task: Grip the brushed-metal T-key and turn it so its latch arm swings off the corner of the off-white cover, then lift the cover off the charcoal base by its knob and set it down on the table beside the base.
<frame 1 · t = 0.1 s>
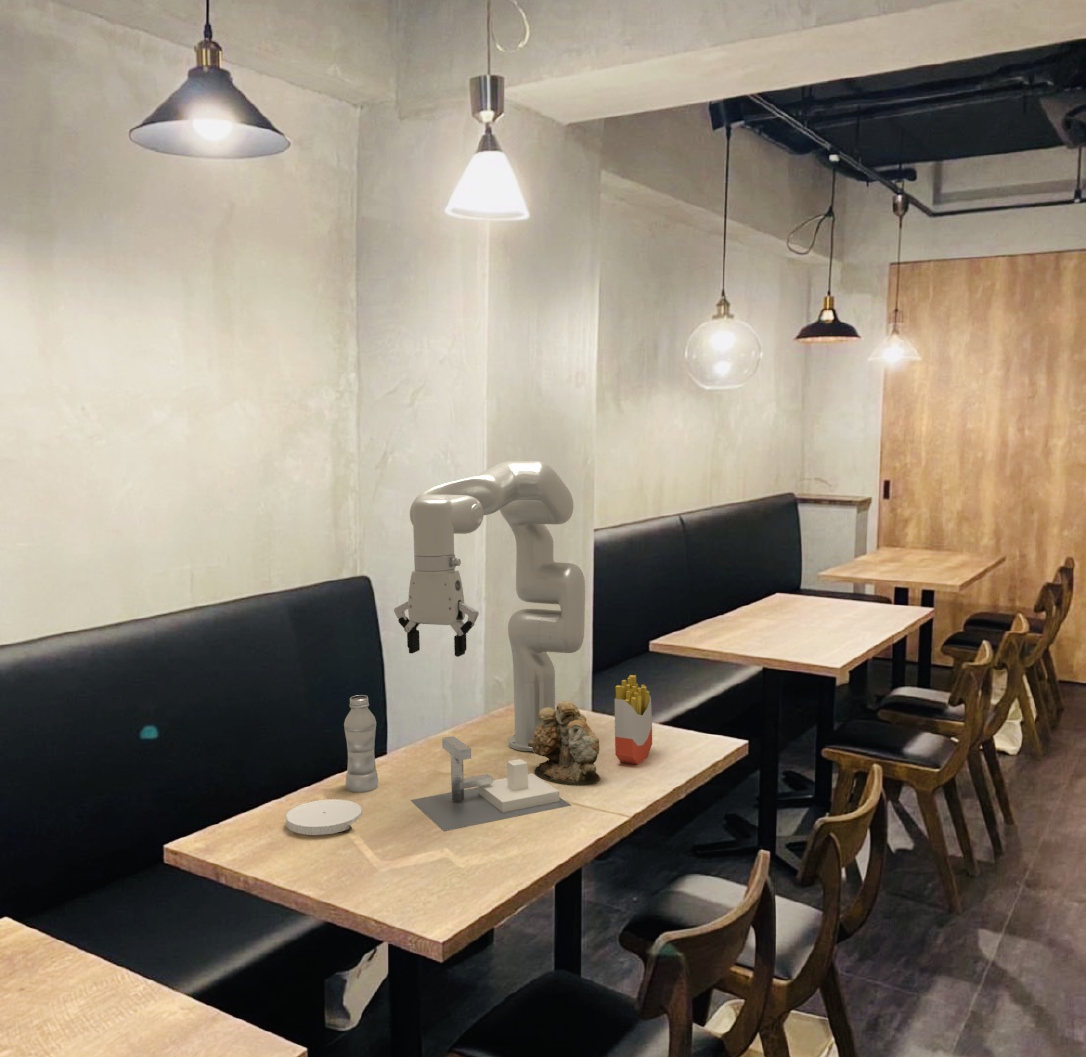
hand: (436, 653, 200), 31 cm above the table, tool pointing down, fingers open, 9 cm apart
plastic lid: (324, 826, 199), on the table
plastic bottle: (362, 794, 214), on the table
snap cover: (518, 797, 206), point 1 cm above the table, touching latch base
french fries container: (634, 760, 232), on the table
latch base: (490, 810, 204), on the table
t key: (471, 768, 206), point 7 cm above the table, hinge at 0.0°
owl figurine: (565, 783, 219), on the table
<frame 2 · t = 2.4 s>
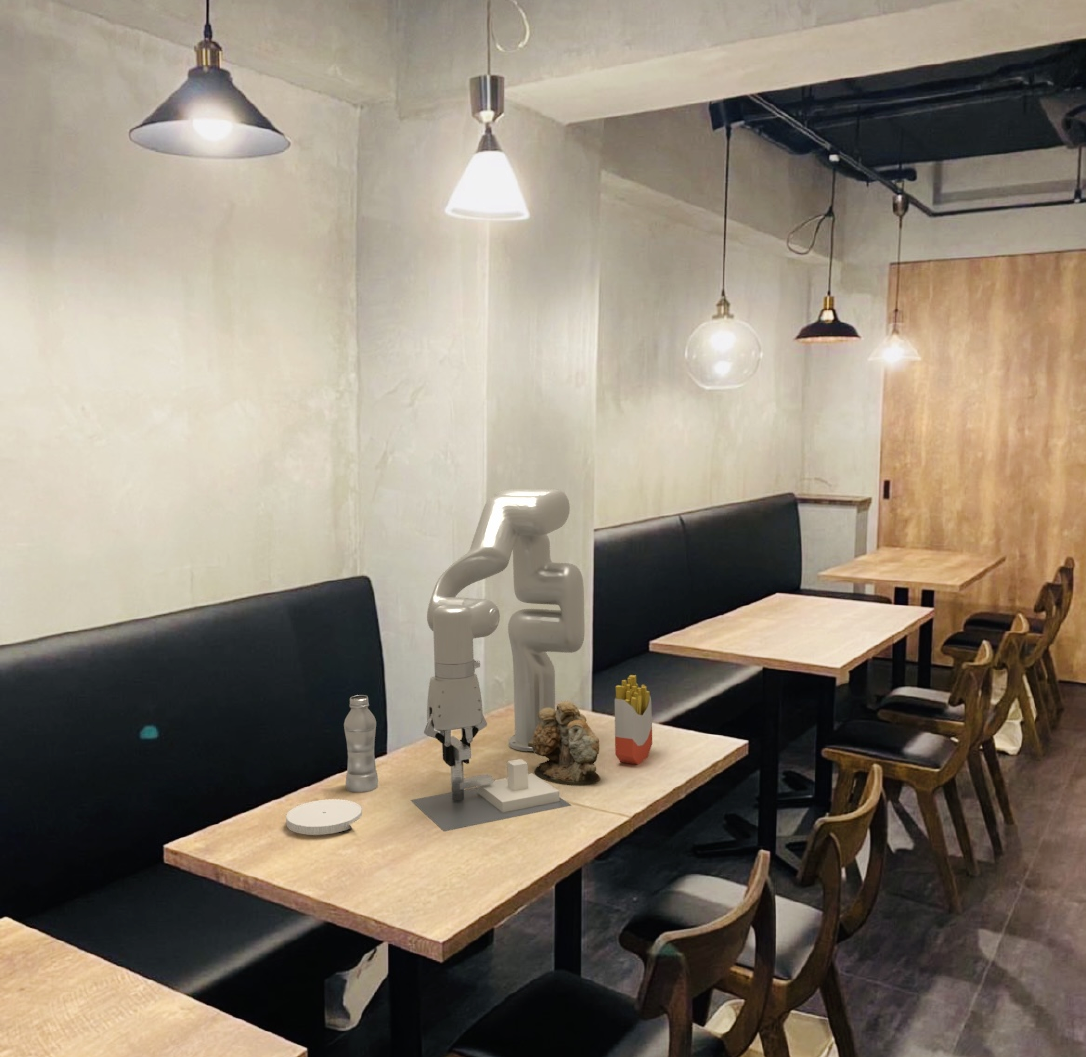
hand: (456, 762, 204), 9 cm above the table, tool pointing down, fingers closed on t key, 2 cm apart
t key: (471, 768, 206), point 7 cm above the table, hinge at 0.0°, touching gripper
everything else where it was.
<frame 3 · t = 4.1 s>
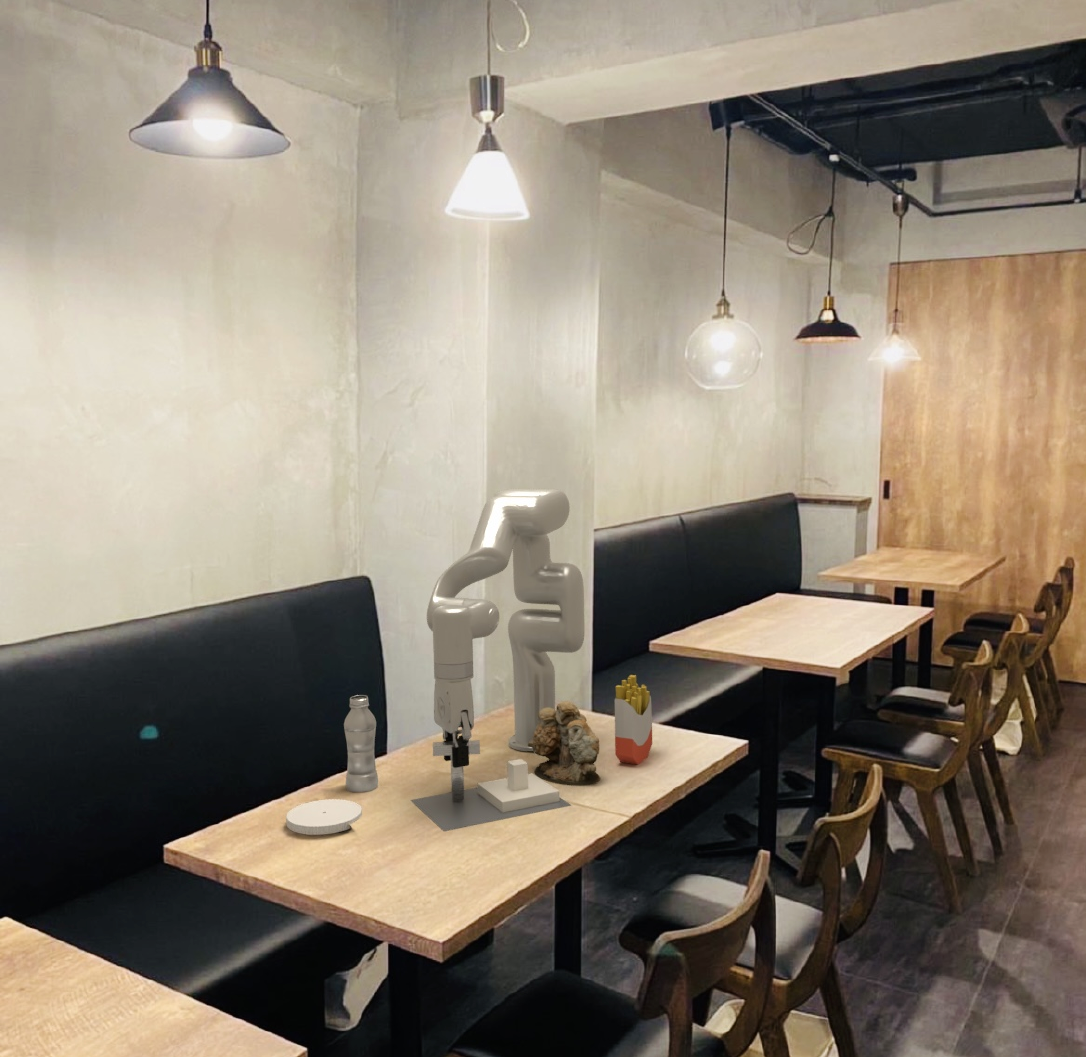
hand: (456, 762, 204), 9 cm above the table, tool pointing down, fingers closed on t key, 3 cm apart
t key: (457, 766, 207), point 7 cm above the table, hinge at 67.9°, touching gripper
everything else where it was.
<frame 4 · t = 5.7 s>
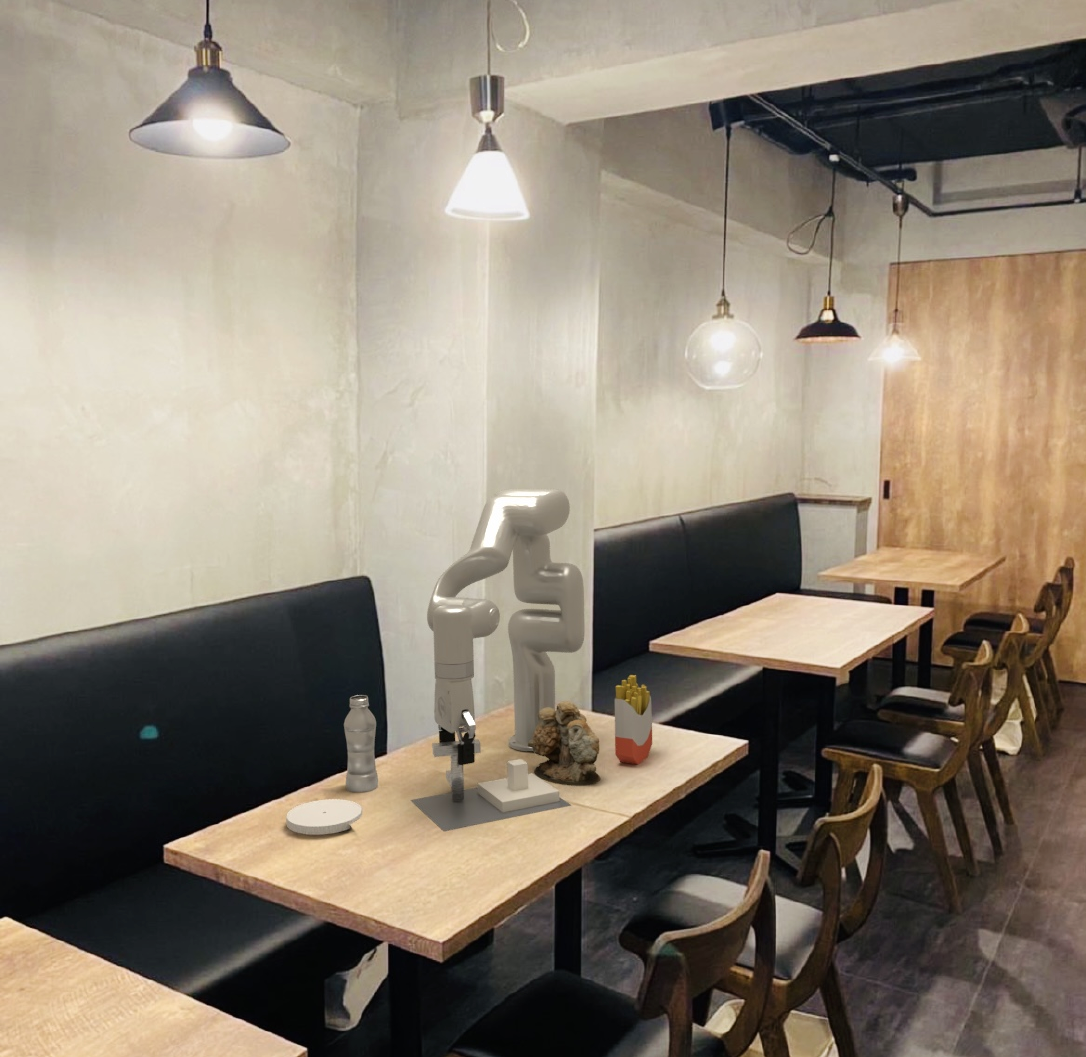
hand: (456, 756, 204), 10 cm above the table, tool pointing down, fingers open, 9 cm apart
t key: (454, 766, 207), point 7 cm above the table, hinge at 77.3°
everything else where it was.
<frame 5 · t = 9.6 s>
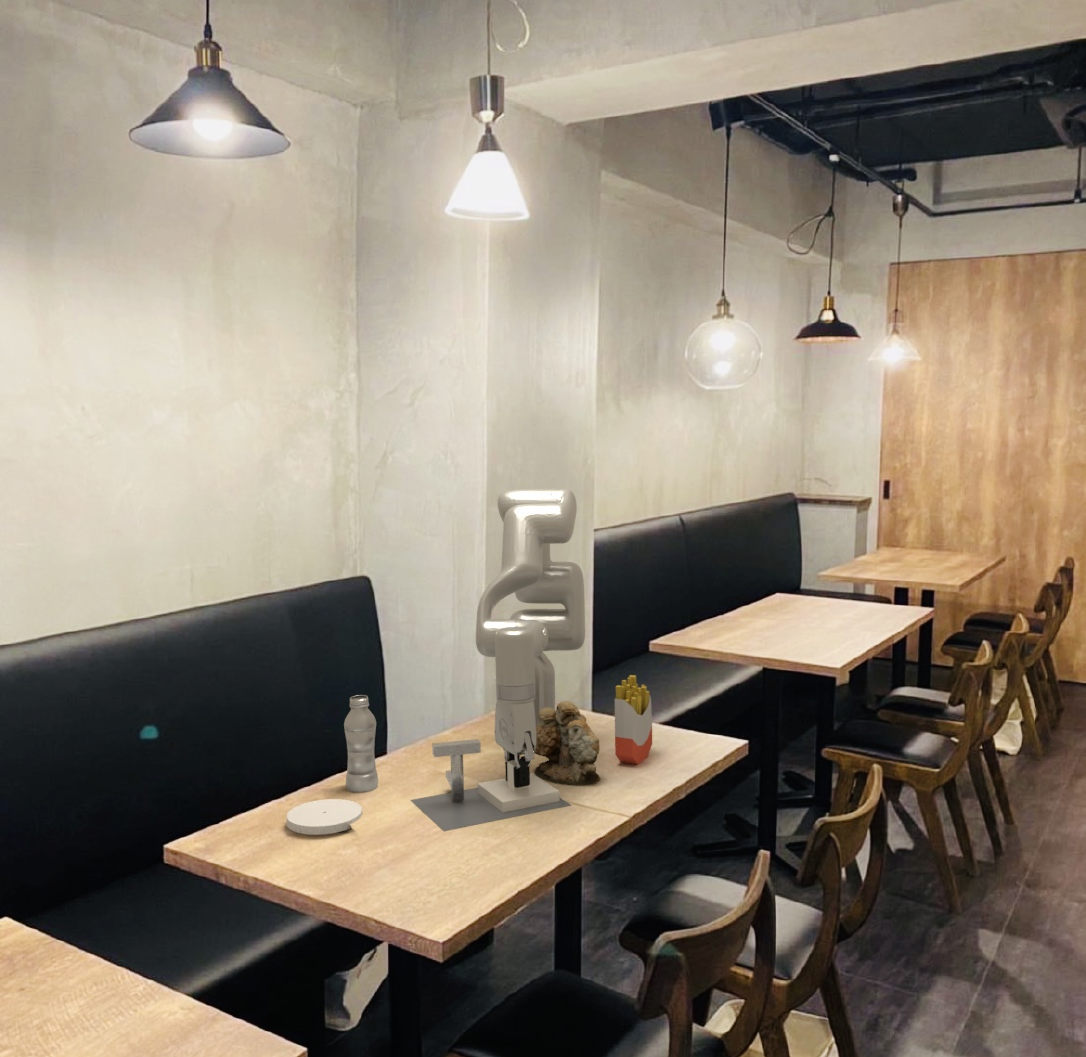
hand: (517, 782, 206), 4 cm above the table, tool pointing down, fingers closed on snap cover, 3 cm apart
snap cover: (518, 797, 206), point 2 cm above the table, touching gripper, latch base
t key: (454, 766, 207), point 7 cm above the table, hinge at 77.8°
everything else where it was.
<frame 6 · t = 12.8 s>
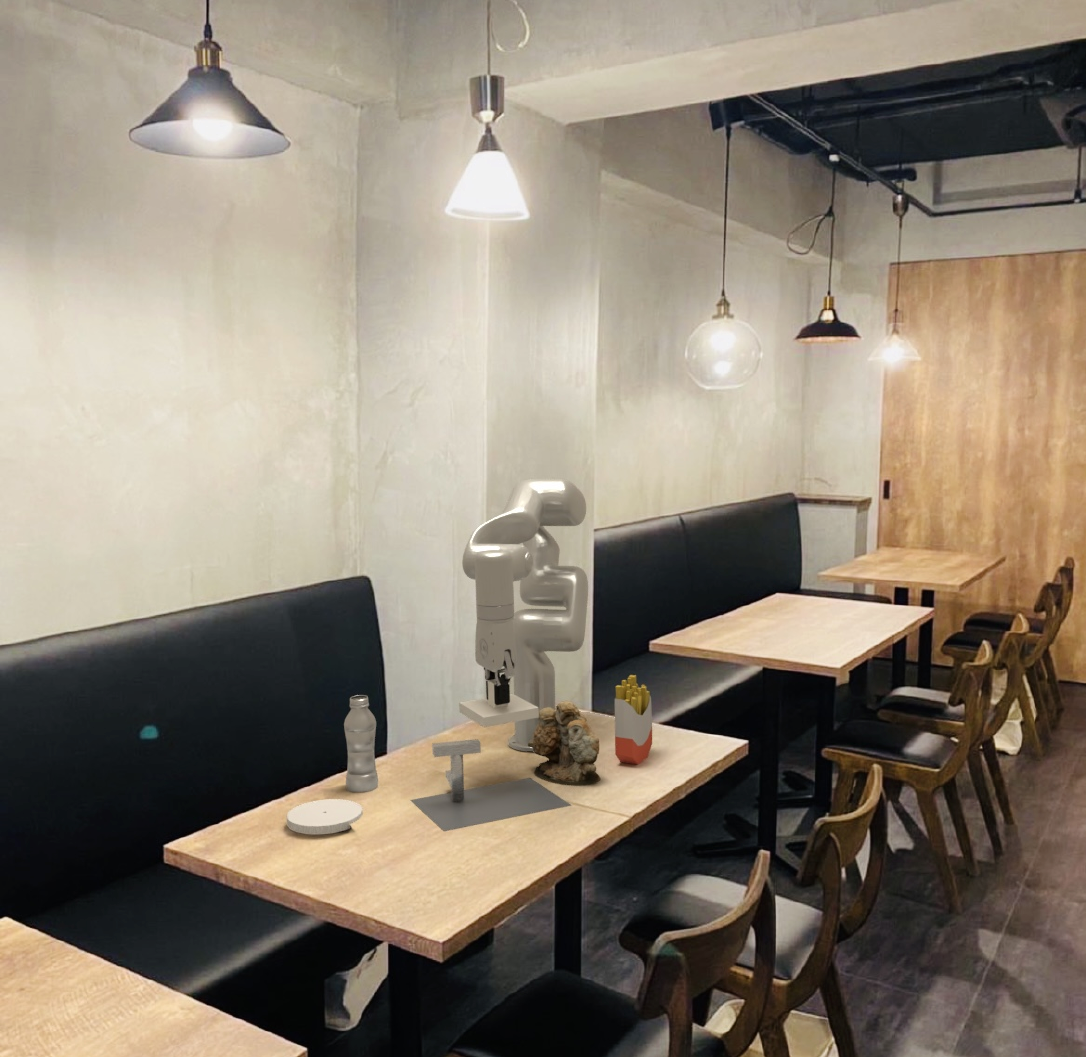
hand: (498, 700, 213), 19 cm above the table, tool pointing down, fingers closed on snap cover, 3 cm apart
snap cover: (498, 714, 213), point 16 cm above the table, touching gripper
everything else where it was.
when the fingers open (4 cm above the table, at t = 16.5 s): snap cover drops 3 cm, on the table.
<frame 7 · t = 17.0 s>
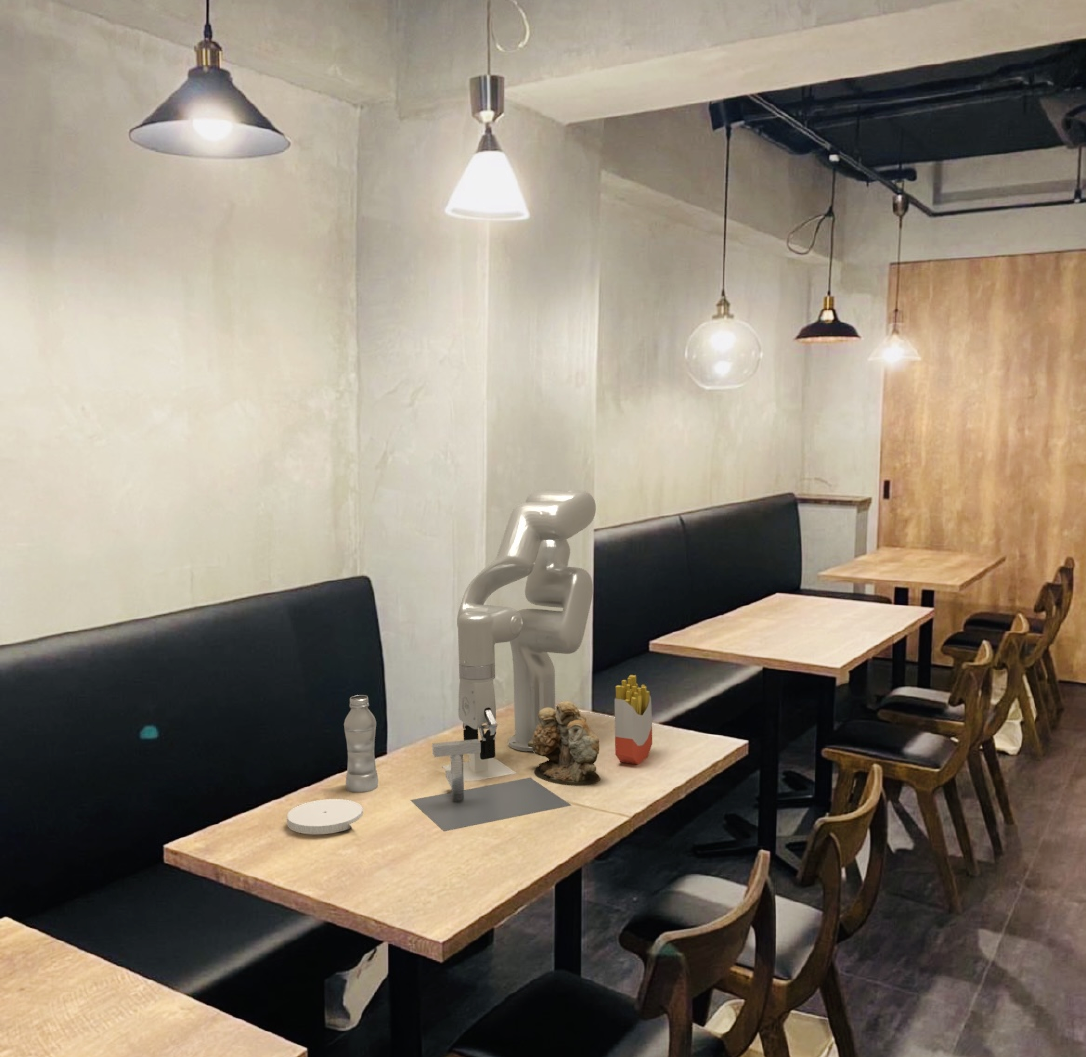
hand: (479, 752, 223), 5 cm above the table, tool pointing down, fingers open, 8 cm apart
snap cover: (479, 778, 223), on the table
everything else where it was.
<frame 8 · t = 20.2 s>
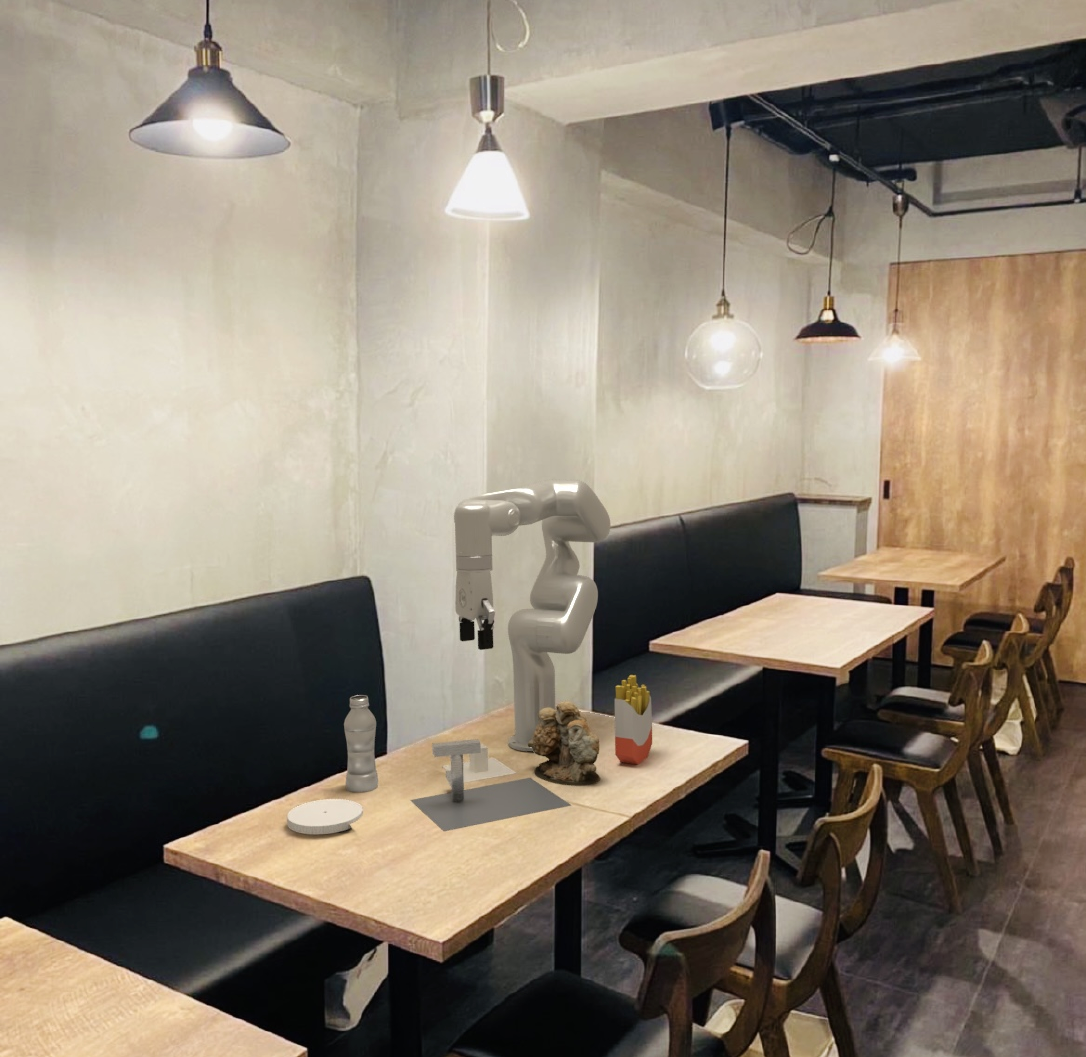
hand: (476, 644, 220), 28 cm above the table, tool pointing down, fingers open, 9 cm apart
nothing on the table moved.
at the end: t key at +78° (first picture: +0°); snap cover inside the target area (0.2 cm from its centre), on the table; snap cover tilted 0° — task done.
